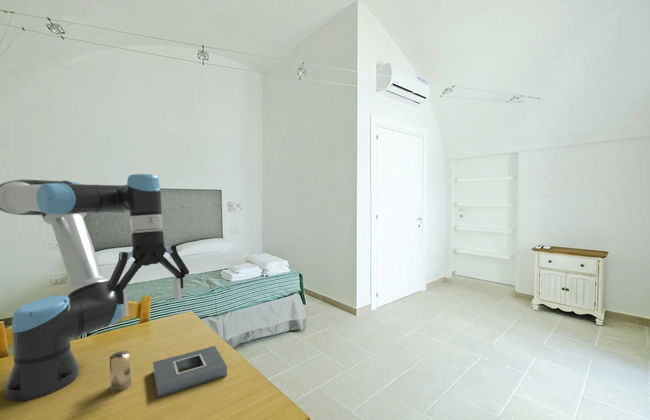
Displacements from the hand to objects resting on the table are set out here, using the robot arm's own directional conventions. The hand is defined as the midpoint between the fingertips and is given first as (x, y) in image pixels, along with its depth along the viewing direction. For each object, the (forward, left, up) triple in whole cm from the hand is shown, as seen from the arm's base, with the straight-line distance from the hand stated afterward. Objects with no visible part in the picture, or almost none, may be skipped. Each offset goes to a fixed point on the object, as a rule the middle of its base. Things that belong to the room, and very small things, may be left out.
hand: (153, 307), depth 83 cm
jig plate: (-1, +9, -22) cm, 24 cm away
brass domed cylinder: (-5, -8, -22) cm, 24 cm away
